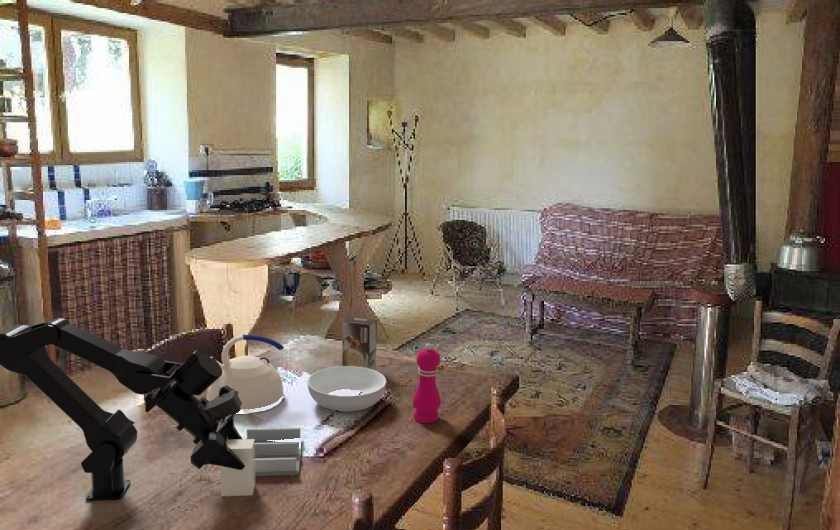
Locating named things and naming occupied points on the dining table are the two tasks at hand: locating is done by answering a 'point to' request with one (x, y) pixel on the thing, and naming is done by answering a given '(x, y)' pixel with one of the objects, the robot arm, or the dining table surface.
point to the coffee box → (359, 342)
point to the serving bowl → (346, 387)
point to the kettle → (249, 376)
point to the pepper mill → (427, 386)
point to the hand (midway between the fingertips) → (245, 459)
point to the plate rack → (276, 451)
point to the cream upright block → (244, 479)
